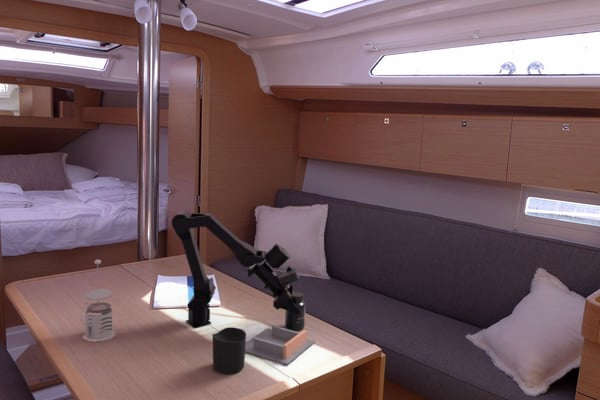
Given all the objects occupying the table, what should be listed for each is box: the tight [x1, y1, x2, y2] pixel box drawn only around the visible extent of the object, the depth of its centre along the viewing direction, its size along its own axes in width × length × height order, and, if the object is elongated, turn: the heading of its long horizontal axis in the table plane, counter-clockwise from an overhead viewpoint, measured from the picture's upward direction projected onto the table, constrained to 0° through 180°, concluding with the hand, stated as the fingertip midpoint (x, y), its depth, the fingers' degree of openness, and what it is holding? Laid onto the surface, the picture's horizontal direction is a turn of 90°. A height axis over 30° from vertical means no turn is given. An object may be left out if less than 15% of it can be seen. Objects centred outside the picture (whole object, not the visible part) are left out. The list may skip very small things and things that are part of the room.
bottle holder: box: [245, 325, 316, 367], centre depth 150 cm, size 18×18×5 cm
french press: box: [80, 259, 115, 340], centre depth 150 cm, size 10×12×25 cm
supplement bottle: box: [284, 291, 306, 332], centre depth 164 cm, size 7×7×12 cm
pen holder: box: [212, 326, 247, 376], centre depth 135 cm, size 9×9×10 cm
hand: (299, 309), depth 164 cm, fingers closed on supplement bottle, 7 cm apart
